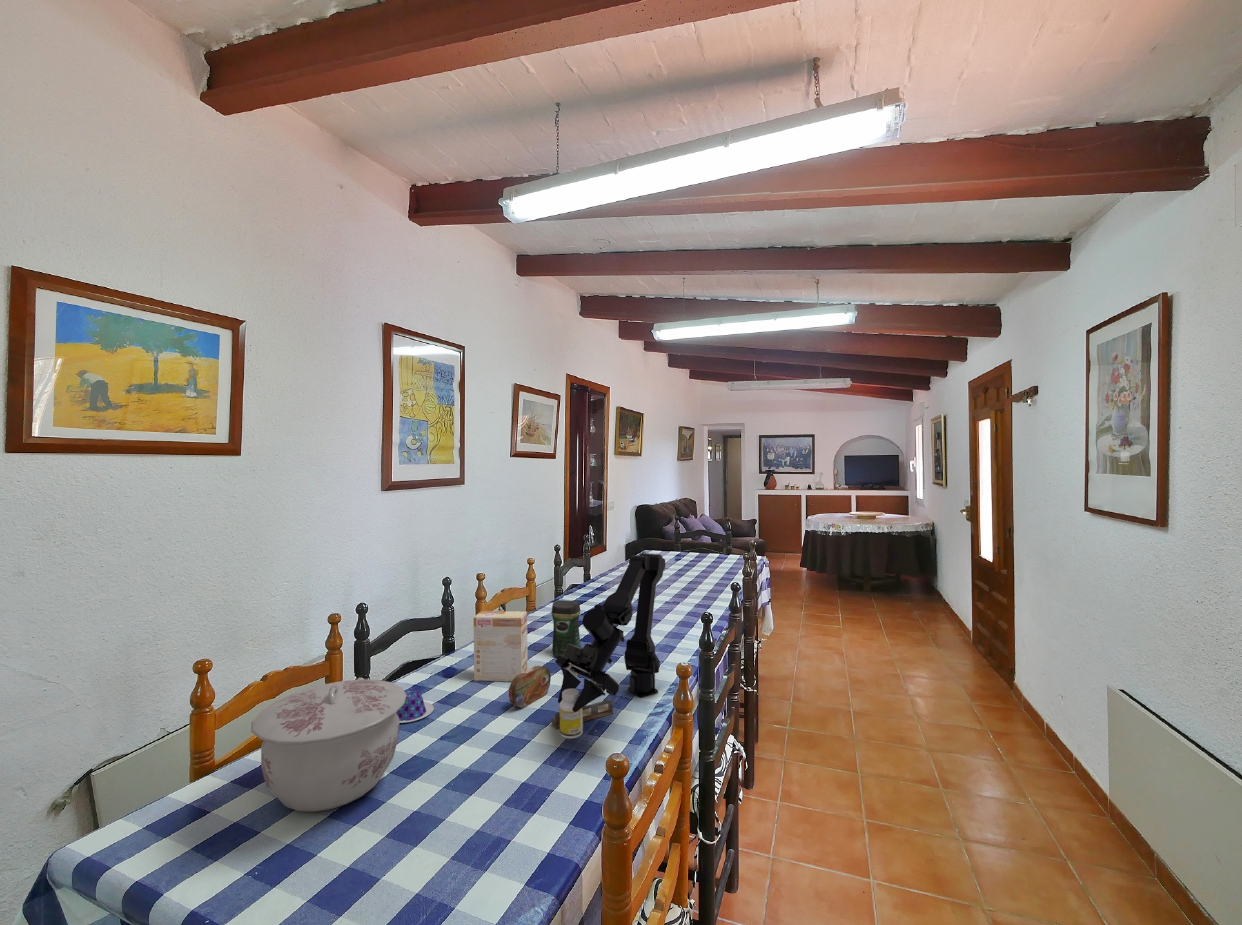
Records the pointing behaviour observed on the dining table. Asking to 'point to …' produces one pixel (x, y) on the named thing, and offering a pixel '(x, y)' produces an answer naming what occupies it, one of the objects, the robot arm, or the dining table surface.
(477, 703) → the dining table surface
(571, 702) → the supplement bottle
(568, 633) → the coffee jar
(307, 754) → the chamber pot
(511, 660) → the coffeecake box
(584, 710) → the rail
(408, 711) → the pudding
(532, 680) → the tin
